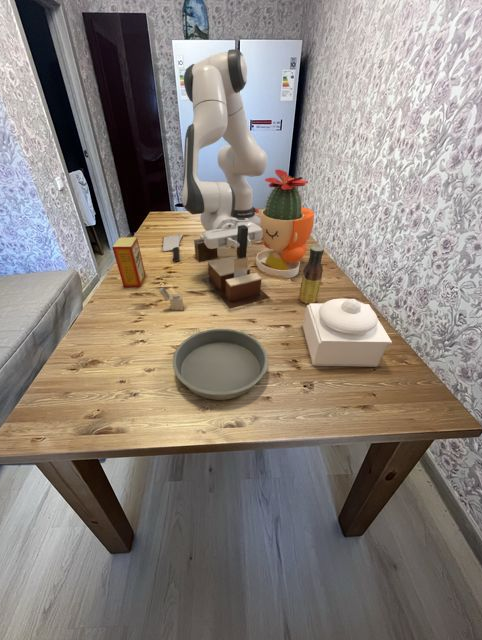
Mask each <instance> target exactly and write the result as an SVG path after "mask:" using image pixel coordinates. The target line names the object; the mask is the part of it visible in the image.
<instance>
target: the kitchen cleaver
mask: <svg viewBox="0 0 482 640" xmlns="http://www.w3.org/2000/svg"><path fill="white" fill-rule="evenodd" d="M183 237H184V234H173V235H169V236H168V235H167V236H164V237H163V244H162V252H169V251H172V253H173V254H172V260H171V261H172V262H173V263H178V262H179V261H180V242H181V240H182V238H183Z"/></svg>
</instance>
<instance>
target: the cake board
mask: <svg viewBox="0 0 482 640" xmlns="http://www.w3.org/2000/svg"><path fill="white" fill-rule="evenodd" d="M203 280H205V282H206V283H207V284H208V286H209V287H210V288H212V290H213V291H214V292H215V294H216V295H217V296H218V297H219V298H220V299H221V300H222V302H223V303H224V304H225V306H226V307H228V309H229V310H232V309H235V308H238V307H242V306H247V305H250V304H254V303H257V302H260V301H265V300H268V299H271V297H270V296H269V295H268V294H266V293H265V292H264V291H263V290H262V289H261V288H260V294H258V295H254V296H250V297H246V298H242V299H238V300H235V301H231V302H230V301H229V299H228V298H227V297H226V290H224V291H220V290H219V288H218V287H217V286H216V285H215V284H214V283H213V282H212V281H211V279H210V278H209V275H207V276H203Z"/></svg>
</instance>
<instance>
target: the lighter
mask: <svg viewBox="0 0 482 640" xmlns="http://www.w3.org/2000/svg"><path fill="white" fill-rule="evenodd" d="M158 292H159V293H160V295H161V297H162V298H163V299H164V300H165V301H168V300H169V305H170V310H171V311H183V310H184V309H185V307H184V299H183V296H180V295H179V294H172V296H170V294H169V293H168V291H167V290H166V289H165V287H160V288H159V289H158Z"/></svg>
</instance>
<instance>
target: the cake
mask: <svg viewBox="0 0 482 640" xmlns="http://www.w3.org/2000/svg"><path fill="white" fill-rule="evenodd" d="M234 259H237V255H236V256H229V257H225V258H220V259H213V260H211V261H210V260H208V261H207V270H208V271H207V272H208V276H209V278H210V279H211V281H212V282H213V283H214V284H215V285H216V286H217V287H218V288H219V290H220V291H224V290H226V280H227V279H231V278H234ZM248 274H251V268H250V267H249V266H248V265H247V275H248Z"/></svg>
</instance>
